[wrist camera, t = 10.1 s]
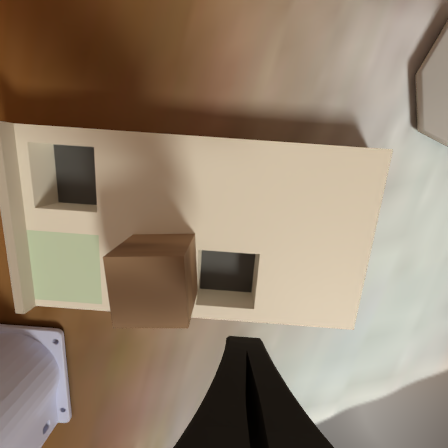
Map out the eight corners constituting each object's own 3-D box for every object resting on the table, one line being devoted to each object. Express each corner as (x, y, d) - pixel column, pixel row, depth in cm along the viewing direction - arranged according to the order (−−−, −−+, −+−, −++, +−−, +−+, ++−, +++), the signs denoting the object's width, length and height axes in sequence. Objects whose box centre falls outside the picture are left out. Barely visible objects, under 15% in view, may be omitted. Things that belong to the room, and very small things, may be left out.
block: (197, 290, 17) (188, 328, 13) (139, 290, 17) (112, 328, 13) (195, 233, 16) (183, 256, 12) (133, 234, 16) (102, 256, 12)
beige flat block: (338, 309, 20) (360, 339, 17) (51, 287, 20) (15, 313, 17) (370, 151, 17) (404, 148, 14) (35, 128, 17) (-13, 119, 14)
